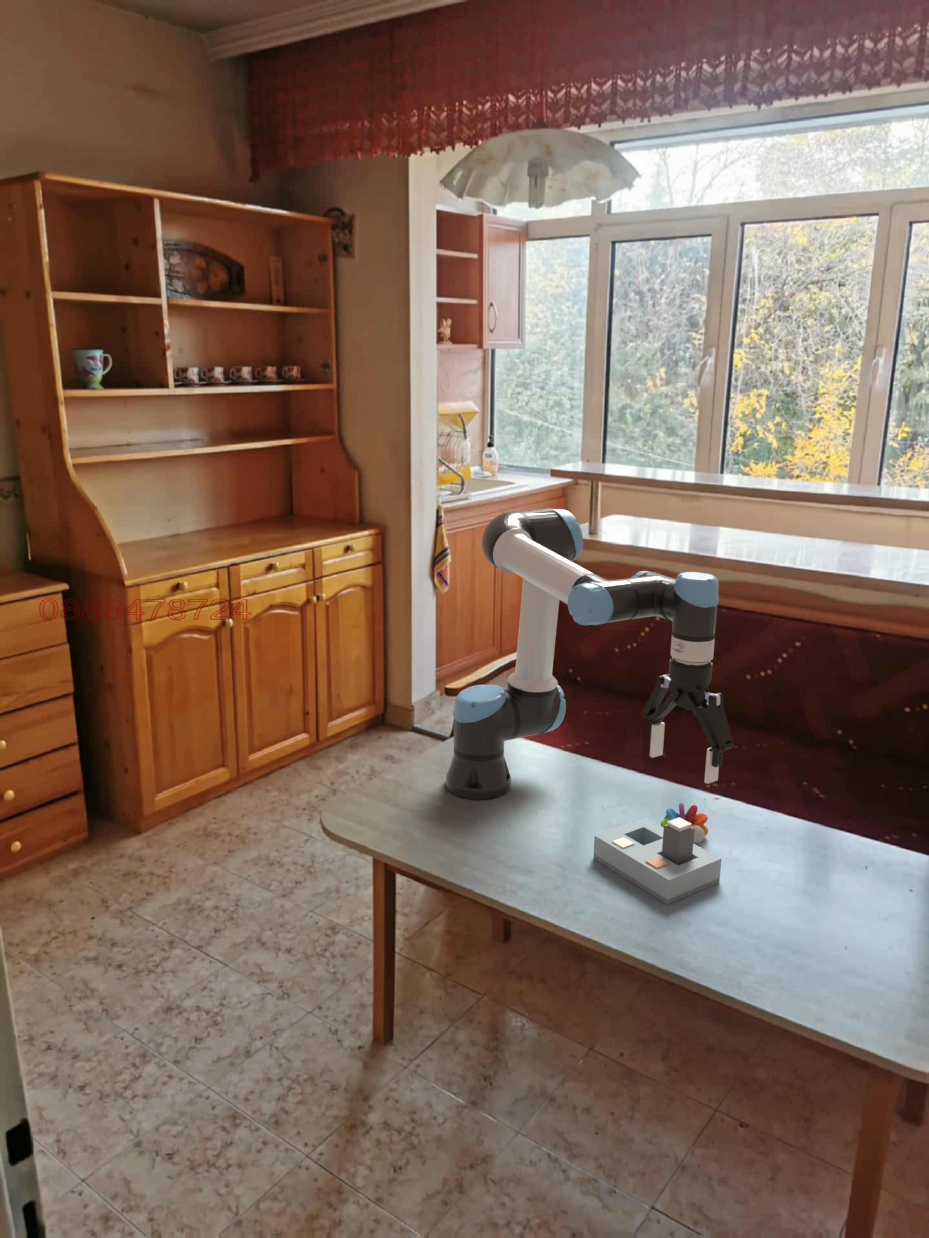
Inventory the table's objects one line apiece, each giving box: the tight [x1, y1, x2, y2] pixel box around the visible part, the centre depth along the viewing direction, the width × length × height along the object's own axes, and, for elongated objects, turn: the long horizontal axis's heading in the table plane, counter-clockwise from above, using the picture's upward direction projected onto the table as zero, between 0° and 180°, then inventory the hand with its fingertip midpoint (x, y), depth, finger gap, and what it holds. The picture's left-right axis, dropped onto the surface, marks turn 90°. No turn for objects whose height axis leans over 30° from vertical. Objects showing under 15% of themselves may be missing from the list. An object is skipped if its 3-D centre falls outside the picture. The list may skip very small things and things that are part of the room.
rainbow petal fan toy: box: [660, 802, 709, 845], centre depth 194 cm, size 8×10×7 cm
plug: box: [662, 817, 695, 865], centre depth 177 cm, size 4×4×11 cm
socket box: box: [593, 817, 722, 905], centre depth 181 cm, size 20×14×5 cm
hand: (682, 768), depth 173 cm, fingers open, 13 cm apart
